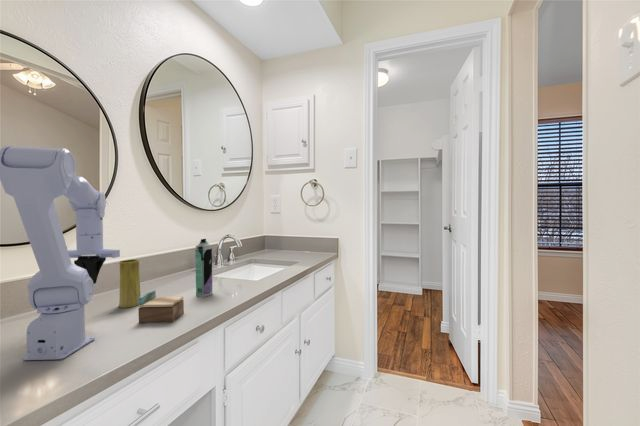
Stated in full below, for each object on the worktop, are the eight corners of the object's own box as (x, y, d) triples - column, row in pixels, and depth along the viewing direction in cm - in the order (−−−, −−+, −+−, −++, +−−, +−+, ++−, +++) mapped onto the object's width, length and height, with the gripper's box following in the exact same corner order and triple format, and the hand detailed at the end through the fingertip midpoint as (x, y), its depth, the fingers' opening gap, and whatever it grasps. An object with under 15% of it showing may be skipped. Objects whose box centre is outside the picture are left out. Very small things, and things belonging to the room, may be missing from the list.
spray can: (212, 295, 103) (211, 239, 103) (195, 297, 101) (194, 239, 101) (212, 291, 108) (211, 237, 108) (196, 293, 106) (195, 238, 106)
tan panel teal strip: (172, 306, 79) (172, 297, 79) (138, 307, 79) (138, 297, 79) (183, 298, 86) (183, 289, 86) (152, 299, 86) (152, 290, 86)
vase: (130, 308, 90) (129, 262, 90) (113, 307, 92) (112, 262, 91) (145, 302, 96) (145, 259, 96) (130, 301, 97) (129, 258, 97)
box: (172, 322, 79) (172, 307, 79) (138, 323, 79) (138, 308, 79) (183, 313, 86) (183, 299, 86) (152, 313, 86) (152, 300, 86)
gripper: (126, 232, 84) (127, 280, 84) (74, 233, 83) (75, 280, 83) (109, 235, 77) (110, 286, 77) (52, 235, 76) (53, 287, 76)
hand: (90, 284), depth 80 cm, fingers closed
